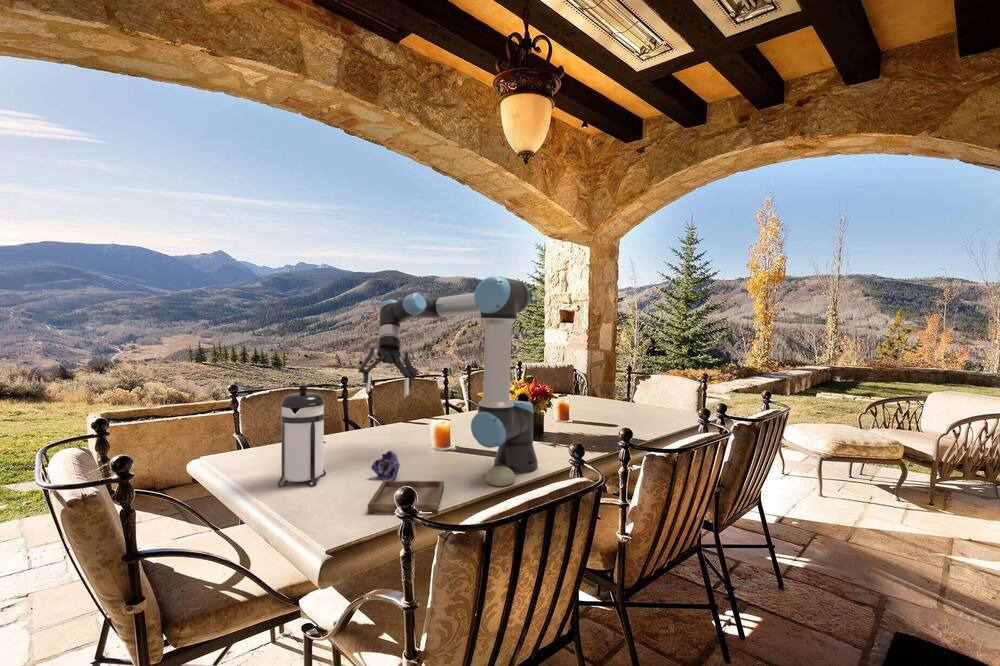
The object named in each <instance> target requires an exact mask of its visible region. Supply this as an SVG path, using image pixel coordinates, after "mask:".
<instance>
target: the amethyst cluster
mask: <svg viewBox="0 0 1000 666" xmlns="http://www.w3.org/2000/svg"><path fill="white" fill-rule="evenodd" d="M381 456H382V457H381V458H379V459H376V460H375V461H373V463H372V464H371V470H372V471H373V472H374V473H375V474H376V475H377V479H378V480H384V481H391V480H392V481H395V480H396V478H397V476H398V473H399V469H400V467H401V463H400V460H399V459H398V455H397V454H396V453H395V452H393V451H392V450H388V451H386V453H382V454H381ZM394 479H395V480H394Z"/></svg>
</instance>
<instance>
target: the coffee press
mask: <svg viewBox="0 0 1000 666" xmlns="http://www.w3.org/2000/svg"><path fill="white" fill-rule="evenodd" d="M298 390H299V391H300V392H294V393H289V394H287V395H285V396H284V397H283V398H282V401H280V408H281V414H280V422H281V449H280V450H281V458H280V459H281V461H280V462H281V464H280V465H281V470H280V471H281V475H280V479H279V480H278V481H277V486H278V487H280V488H282V487H285V485H286V484H287V483H288V482H290V483H291V482H293V483H298V482H308V483H309V485H310V487H311V488H312V487H316V486H317V479H318V478H319V477H320V476H321V477H325V476H326V474H327V471H326V470H325V469H324V443H325V442H324V438H325V437H324V431H325V430H324V429H325V428H324V425H325V422H324V421H325V420H324V419H325V412H324V411H325V405H326V400H325V399H324V397H323V395H322V394H320V393H318V392H312V391H309V392H308V387H307V385H305V384H301V385H300V386H299V388H298ZM283 480H284V481H283ZM281 486H282V487H281Z"/></svg>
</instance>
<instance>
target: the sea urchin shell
mask: <svg viewBox="0 0 1000 666" xmlns="http://www.w3.org/2000/svg"><path fill="white" fill-rule="evenodd" d="M515 474H516V473H514V472H513V471H512V470H511V469H510V468H508V467H505V466H496V467H494V466H493V467H491V468H489V470H487V472H486V474H485V477H484V479H485V481H486V483H487V484H489V485H491V486H494V487H505V486H510V485H512V484H513V483H514V482H515V481H516V475H515Z"/></svg>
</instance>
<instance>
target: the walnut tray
mask: <svg viewBox="0 0 1000 666" xmlns="http://www.w3.org/2000/svg"><path fill="white" fill-rule="evenodd" d="M403 486H410V487H412V488H413V489H414V490H415V491H416V492H417V495H418V502H417V503H416V504H415V508H416V509H417V510H418V513H419V511H422V512H432V513H435V514H434V515H438V512H439V510H438V509H440V506H441V502H440V501H442V498H443V495H442V494H444V491H443V490H444V489H445V480H392V481H382V482H381V484H380V485H379V487H378V488H377V490H376V492H374V494H373V496H372V497H371V499H370V500H369V502H368V503H367V514H368V513H391V514H390V515H395V514H394V512H395V510H396V509H397V506H396V504H395V502H394V494H395V492H396V491H397V490H398V489H399V488H401V487H403ZM439 505H440V506H439ZM392 513H393V514H392Z"/></svg>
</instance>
